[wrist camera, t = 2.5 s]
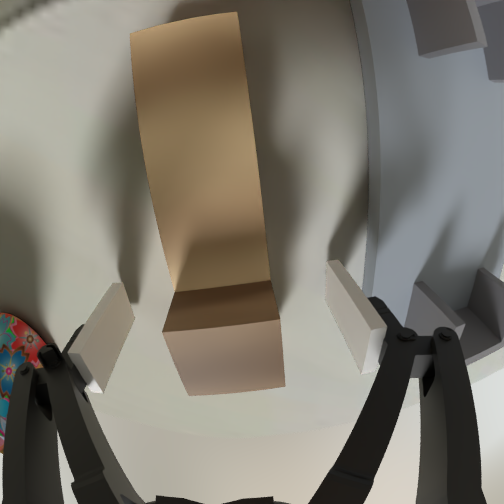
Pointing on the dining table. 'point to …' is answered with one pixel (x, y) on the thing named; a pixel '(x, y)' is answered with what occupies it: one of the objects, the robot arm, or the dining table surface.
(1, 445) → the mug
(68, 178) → the dining table surface
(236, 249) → the tan stepped wooden block
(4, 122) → the dining table surface
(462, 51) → the grey slat holder base
